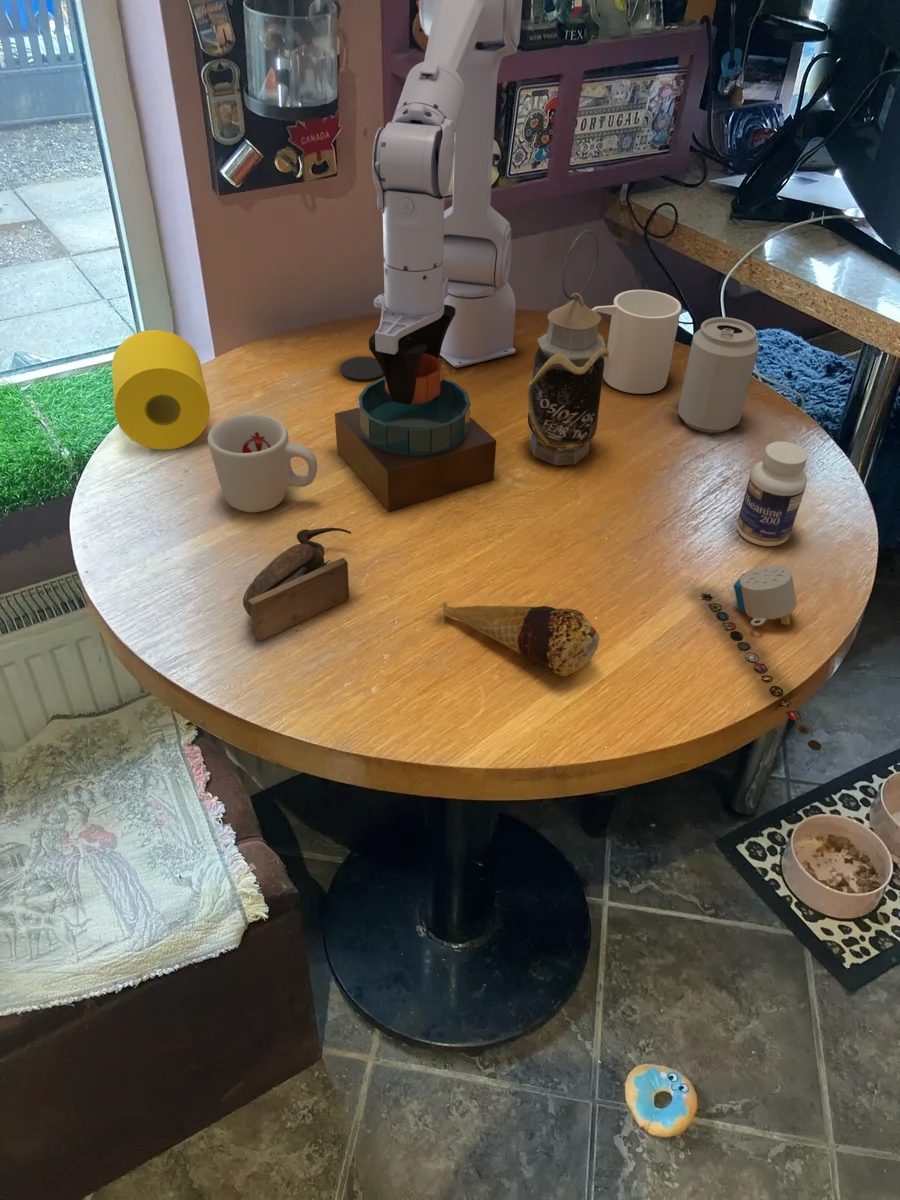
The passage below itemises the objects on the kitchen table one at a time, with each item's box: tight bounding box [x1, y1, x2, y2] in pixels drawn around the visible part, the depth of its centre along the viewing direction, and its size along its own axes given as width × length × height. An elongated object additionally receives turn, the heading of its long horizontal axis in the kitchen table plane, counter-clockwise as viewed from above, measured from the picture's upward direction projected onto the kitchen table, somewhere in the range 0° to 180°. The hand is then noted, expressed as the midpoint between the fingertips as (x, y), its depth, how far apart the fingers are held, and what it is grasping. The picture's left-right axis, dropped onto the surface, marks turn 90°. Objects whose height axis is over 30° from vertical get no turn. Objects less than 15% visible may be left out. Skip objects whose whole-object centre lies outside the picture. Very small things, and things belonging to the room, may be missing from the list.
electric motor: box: [733, 564, 798, 627], centre depth 87 cm, size 7×5×5 cm
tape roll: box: [111, 329, 211, 451], centre depth 107 cm, size 10×10×9 cm
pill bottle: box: [736, 441, 808, 547], centre depth 94 cm, size 5×5×10 cm
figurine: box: [242, 527, 352, 642], centre depth 88 cm, size 14×4×9 cm
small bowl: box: [385, 353, 443, 404], centre depth 98 cm, size 6×6×3 cm
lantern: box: [526, 229, 609, 466], centre depth 100 cm, size 9×8×25 cm
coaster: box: [339, 356, 384, 382], centre depth 121 cm, size 6×6×1 cm
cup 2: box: [590, 289, 682, 395], centre depth 118 cm, size 8×12×10 cm
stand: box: [334, 407, 497, 512], centre depth 104 cm, size 13×13×5 cm
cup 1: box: [207, 413, 318, 513], centre depth 97 cm, size 11×8×8 cm
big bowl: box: [357, 376, 472, 456], centre depth 101 cm, size 12×12×3 cm
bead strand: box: [699, 591, 823, 752], centre depth 83 cm, size 20×1×1 cm
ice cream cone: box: [442, 601, 600, 678], centre depth 82 cm, size 6×6×15 cm
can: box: [677, 316, 760, 434], centre depth 110 cm, size 8×8×12 cm
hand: (413, 387), depth 99 cm, fingers closed on small bowl, 6 cm apart
